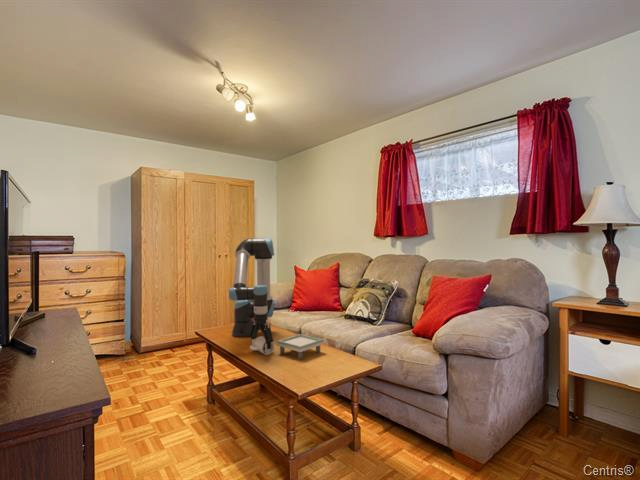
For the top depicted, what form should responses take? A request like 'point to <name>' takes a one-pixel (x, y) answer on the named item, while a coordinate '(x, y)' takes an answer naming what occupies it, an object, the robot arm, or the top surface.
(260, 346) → the mug
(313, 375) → the top surface
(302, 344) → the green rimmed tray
